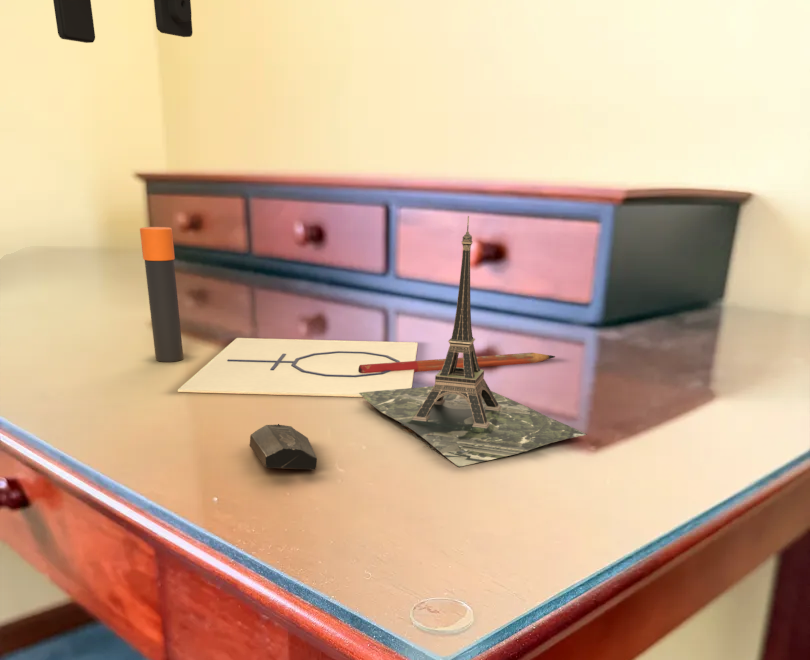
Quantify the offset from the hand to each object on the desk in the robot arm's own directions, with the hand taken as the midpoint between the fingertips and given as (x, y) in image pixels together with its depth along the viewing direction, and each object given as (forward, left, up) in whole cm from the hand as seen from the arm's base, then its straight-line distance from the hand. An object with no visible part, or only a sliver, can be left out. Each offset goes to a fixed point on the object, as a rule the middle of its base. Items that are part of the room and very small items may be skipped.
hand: (124, 37), depth 62 cm
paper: (+13, +1, -25) cm, 28 cm away
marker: (0, +2, -25) cm, 25 cm away
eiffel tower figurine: (+26, -15, -25) cm, 39 cm away
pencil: (+26, +1, -25) cm, 36 cm away
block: (+15, -24, -25) cm, 38 cm away
